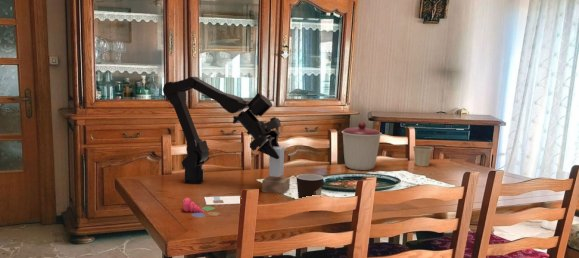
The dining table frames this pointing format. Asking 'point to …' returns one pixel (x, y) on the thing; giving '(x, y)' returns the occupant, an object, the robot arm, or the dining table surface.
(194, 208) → the toy pieces
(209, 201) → the page
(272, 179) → the base block
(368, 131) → the canister
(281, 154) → the tall brick
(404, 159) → the dining table surface
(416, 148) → the flower pot
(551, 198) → the dining table surface
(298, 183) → the coffee mug
